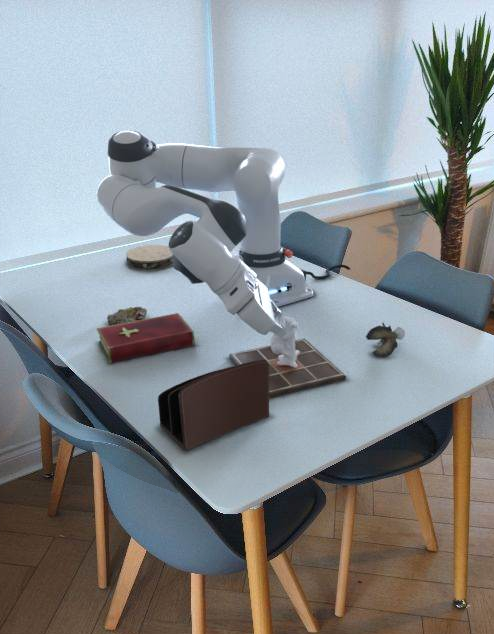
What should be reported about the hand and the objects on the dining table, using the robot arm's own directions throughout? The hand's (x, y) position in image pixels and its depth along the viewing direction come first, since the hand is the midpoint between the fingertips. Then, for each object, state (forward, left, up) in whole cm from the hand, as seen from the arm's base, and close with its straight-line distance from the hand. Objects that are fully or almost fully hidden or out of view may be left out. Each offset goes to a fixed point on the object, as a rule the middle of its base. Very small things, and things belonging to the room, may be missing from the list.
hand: (281, 324), depth 133 cm
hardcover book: (+25, -24, -11) cm, 37 cm away
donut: (-14, -69, -11) cm, 71 cm away
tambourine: (+8, -81, -11) cm, 82 cm away
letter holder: (+21, +14, -11) cm, 28 cm away
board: (-1, +1, -11) cm, 11 cm away
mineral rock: (+26, -40, -11) cm, 49 cm away
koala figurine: (-1, 0, -10) cm, 10 cm away
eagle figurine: (-27, +2, -11) cm, 29 cm away
